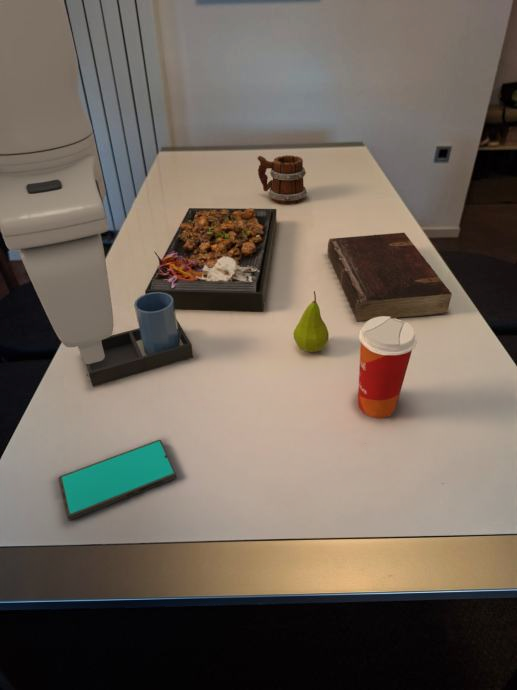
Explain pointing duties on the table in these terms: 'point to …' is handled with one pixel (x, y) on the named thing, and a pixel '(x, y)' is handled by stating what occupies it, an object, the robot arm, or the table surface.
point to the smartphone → (115, 479)
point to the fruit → (311, 329)
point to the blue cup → (157, 322)
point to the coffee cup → (383, 364)
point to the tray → (134, 357)
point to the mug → (284, 179)
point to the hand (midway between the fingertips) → (84, 329)
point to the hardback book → (387, 277)
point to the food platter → (218, 260)
